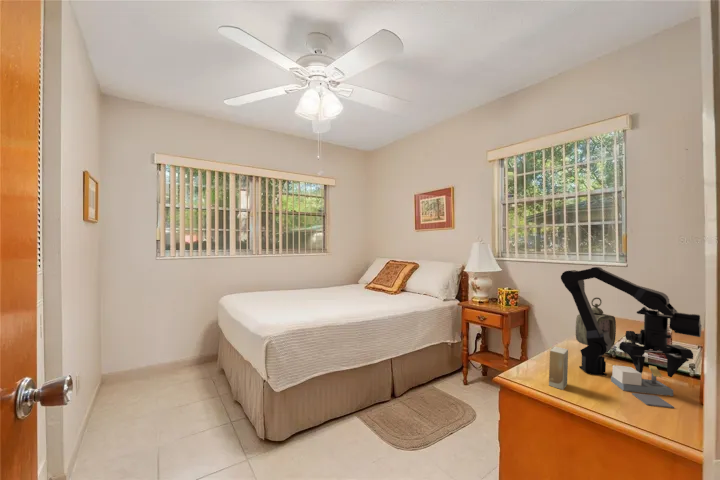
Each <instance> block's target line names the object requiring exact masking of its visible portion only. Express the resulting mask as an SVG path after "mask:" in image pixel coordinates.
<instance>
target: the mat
mask: <svg viewBox="0 0 720 480" xmlns="http://www.w3.org/2000/svg"><path fill="white" fill-rule="evenodd" d="M631 395H632V396H634V397H636V399H638V400H639V401H641V402H642V403H643V404H644V405H646V406H651V407H652V406H653V407H659V408H668V409H675V406H674V405H673V404H670V403H669V402H667V401H666V400H665V399H663V398H662V397H660V396H659V395H657V394H648V393H639V392H631Z"/></svg>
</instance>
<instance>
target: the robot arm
mask: <svg viewBox="0 0 720 480" xmlns="http://www.w3.org/2000/svg"><path fill="white" fill-rule="evenodd" d="M591 279H597V280H599V281H600V282H603V283H605V284H607V285H609V286H610V287H613V288H615V289H618V290H619V291H621V292H624V293H626V294H628V295H630V296H631V297H633V298H634V299H635V300H637V302H639V303H640V304H642V305H643V307H641V309H639V310H638V311H636V314H638V315H644V317H643V318H644V319H643V323H644V324H643V329H640V331H639V333H636V332H635V331H633V330H626V331H625V339H626V340H627V341H628V342H627V341H622V342H620V343H619V350H620V351H622V352H623V353H625V354H627V355H628V356H629V357H630V359H631V362H632V363H633V365H634V369H635V370H637V371H638V372H640V373H642V374H643V370H644V367H645V366H644V365H645V359H646V357H645V356H644V355H645V353H650V354H651V353H653V354H664V356H665V357H666V362H667V363H666V374H667V377H669V378H673V376H674V375H675V374H676V372H677V371H678V370H679V369H680V368H681V367H682V366H683V365H684V364H685V363H686V362H689V361H690V360H694V353H693V351H692V349H690V348H687V347H684V346H681V345H680V344H679V345H678V344H668V339H671V338H672V335H671V334H669V333H668V329H670V330H671V331H673V332H674V333H675V334H680V335H686V336H691V337H697V338H701V336H702V328H703V327H702V325H703V324H701V323H702V322H701V315H700V314H697V313H696V314H695V313H694V314H693V313H684V312H678V310H677V309H676V308H675V307H674V306H673V305H672V304H671V303H670V298H669V296H668V295H667V294H666V293H664V292H662V291H659V290H655V289H653V288H652V289H651V288H648V287H644V286H640V285H637V284H635V283H633V282H631V281H629V280H627V279H625V278H623V277H620V276H618V275H616V274H614V273H611V272H610V271H607V270H605V269H604V268H602V267H600V266H593V267H590V268H588V269H582V270H575V269H574V270H573V269H572V270H566V271H563V272H562V274H561V275H560V280H561V282H562V284H563V285H564V287H565V288H566V289H567V290H568V292H569V293H570V295H571V296H572V299H573V301H574V304H575V306H576V308H577V311H578V314H580V316H581V318H582V321H583V323H584V326H585V328H586V339H587V344H588V345H586V346H585V347H584V348H582V349H580V351H579V352H580V353H581V365H579V369H580V370H582V371H583V372H584V373H585V374H587V375H594V376H596V375H597V376H602V377H603V376H605V377H606V376H607V375H608V374H607V371H606V370H607V369H606V368H607V366H606V365H607V362H606V361H605V357H604V355H605V354H608V353H607V352H608V351H609V350H610V351H611V349H612V347H613V346H612V345H611V343H613V342H612V341H611V339H610V337H609V333H608V332H603V331H602V330H601V329H600V327H599V325H598V323H597V320H596V318H595V315H594V313H593V311H592V308H593V307H592V305H591V302H590V301H589V299H588V296H587V294H586V290H585V280H591ZM668 323H669V324H668ZM668 325H669V326H668ZM668 327H669V328H668ZM630 341H631V342H630Z"/></svg>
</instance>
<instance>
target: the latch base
mask: <svg viewBox="0 0 720 480" xmlns="http://www.w3.org/2000/svg"><path fill="white" fill-rule="evenodd" d="M610 382H612V384H613V385H615V386H617V387H618V388H619V389H621V390H622V391H624V392H631V393H639V394H648V395H657V396H667V395H670V396H669V397H674V389H673V388H671V387H669V386H668V385H666V384H664V383H663V382H660V381H659V380H657V379H656V384H653V383H651V379H645V378H642V381H641V385H631V384H622V383H621V382H619V381H618V380H617V379H615V378H614V377H612V375H611V376H610Z"/></svg>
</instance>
